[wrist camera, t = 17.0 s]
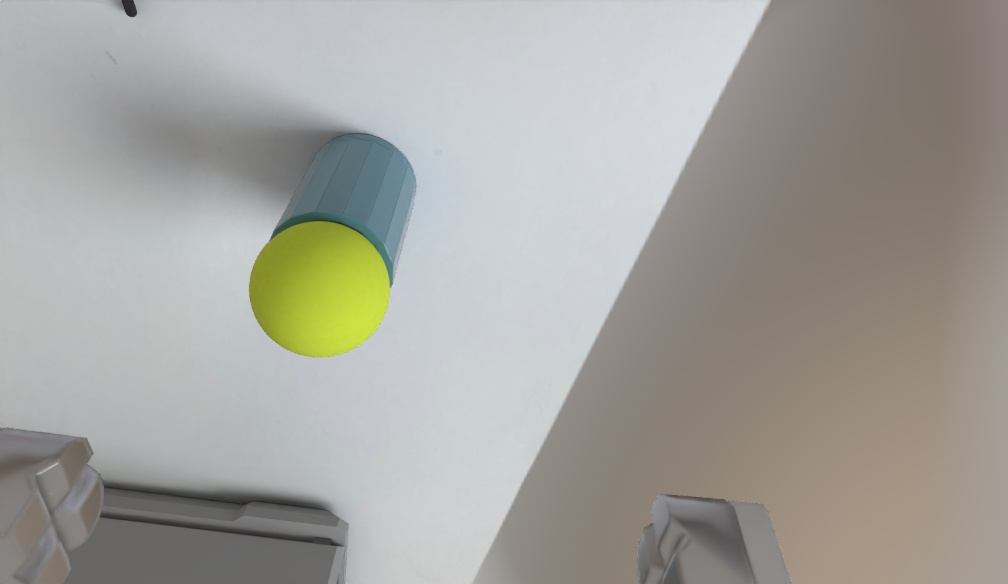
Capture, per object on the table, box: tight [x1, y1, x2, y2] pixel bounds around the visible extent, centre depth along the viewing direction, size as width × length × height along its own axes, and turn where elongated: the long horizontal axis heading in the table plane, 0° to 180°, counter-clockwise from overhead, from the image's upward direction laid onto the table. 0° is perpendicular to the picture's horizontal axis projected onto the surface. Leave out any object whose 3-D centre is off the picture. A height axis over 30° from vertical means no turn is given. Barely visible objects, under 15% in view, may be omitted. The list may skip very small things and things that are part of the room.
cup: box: [270, 134, 416, 288], centre depth 39 cm, size 6×6×9 cm
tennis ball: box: [249, 221, 390, 357], centre depth 33 cm, size 6×6×6 cm
